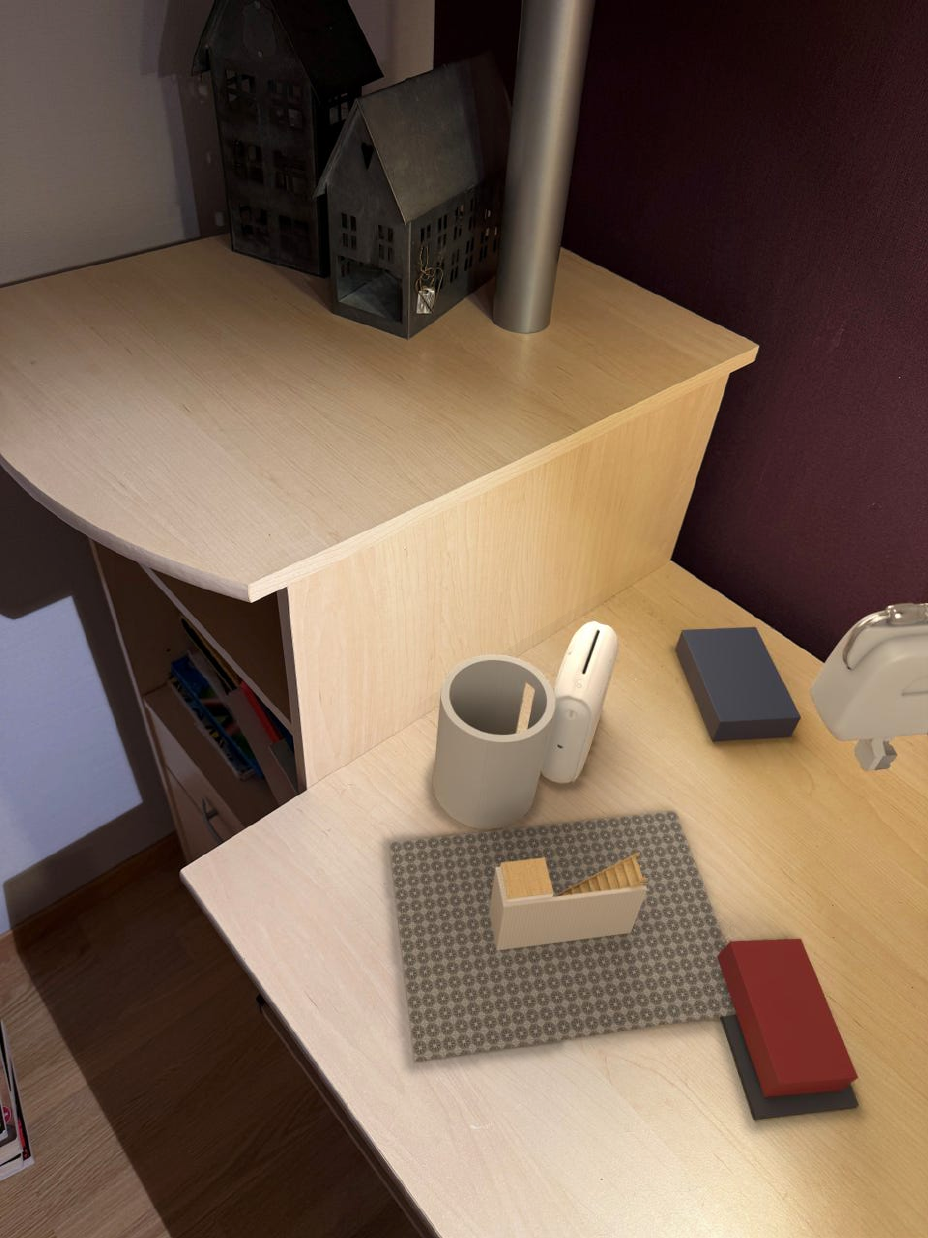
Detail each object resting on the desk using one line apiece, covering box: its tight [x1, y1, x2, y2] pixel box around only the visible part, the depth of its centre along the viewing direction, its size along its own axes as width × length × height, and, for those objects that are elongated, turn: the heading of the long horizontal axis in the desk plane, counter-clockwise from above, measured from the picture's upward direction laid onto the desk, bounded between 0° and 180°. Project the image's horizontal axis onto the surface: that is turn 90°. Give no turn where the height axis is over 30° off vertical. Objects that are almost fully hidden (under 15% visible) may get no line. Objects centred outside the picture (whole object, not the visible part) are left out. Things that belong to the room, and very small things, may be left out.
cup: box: [432, 653, 555, 830], centre depth 76 cm, size 9×9×12 cm
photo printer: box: [540, 620, 619, 784], centre depth 80 cm, size 10×4×12 cm, turn 160°
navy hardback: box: [674, 626, 802, 743], centre depth 89 cm, size 12×8×3 cm, turn 7°
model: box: [488, 852, 649, 951], centre depth 68 cm, size 3×11×8 cm, turn 99°
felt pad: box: [719, 1014, 860, 1121], centre depth 67 cm, size 8×12×1 cm, turn 7°
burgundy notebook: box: [717, 938, 859, 1097], centre depth 65 cm, size 10×6×2 cm, turn 7°
